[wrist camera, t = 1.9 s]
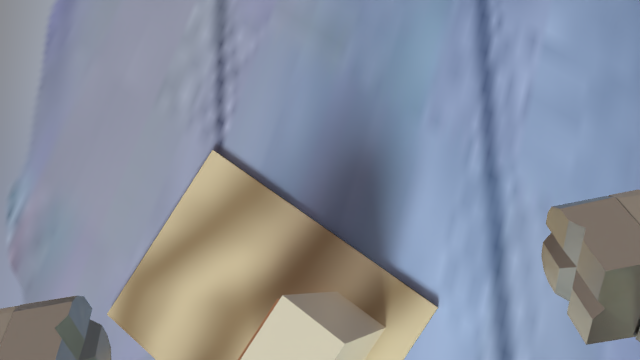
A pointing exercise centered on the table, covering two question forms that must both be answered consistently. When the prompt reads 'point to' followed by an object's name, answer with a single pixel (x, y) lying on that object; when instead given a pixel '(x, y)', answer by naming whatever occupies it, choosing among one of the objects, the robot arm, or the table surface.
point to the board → (250, 273)
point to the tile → (314, 330)
